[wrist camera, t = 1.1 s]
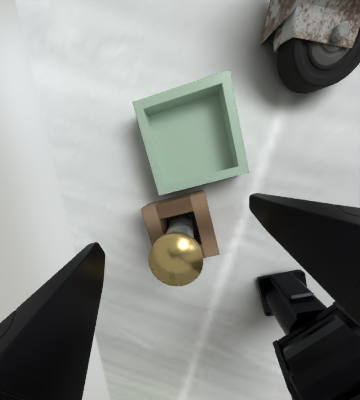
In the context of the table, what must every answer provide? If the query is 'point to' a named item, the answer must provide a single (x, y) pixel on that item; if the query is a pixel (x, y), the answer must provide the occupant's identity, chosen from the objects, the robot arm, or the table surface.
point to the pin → (177, 253)
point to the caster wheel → (314, 41)
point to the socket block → (179, 205)
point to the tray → (192, 134)
